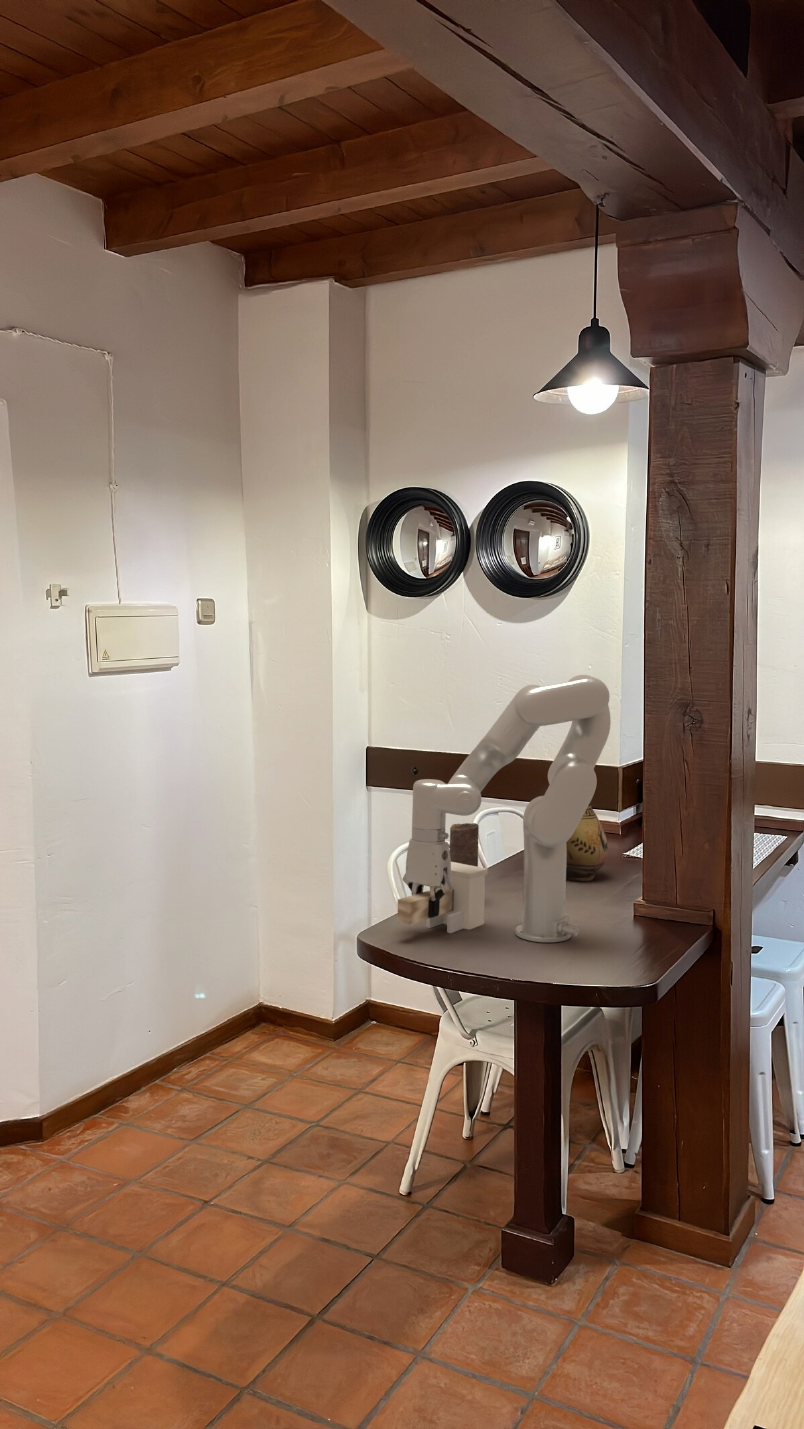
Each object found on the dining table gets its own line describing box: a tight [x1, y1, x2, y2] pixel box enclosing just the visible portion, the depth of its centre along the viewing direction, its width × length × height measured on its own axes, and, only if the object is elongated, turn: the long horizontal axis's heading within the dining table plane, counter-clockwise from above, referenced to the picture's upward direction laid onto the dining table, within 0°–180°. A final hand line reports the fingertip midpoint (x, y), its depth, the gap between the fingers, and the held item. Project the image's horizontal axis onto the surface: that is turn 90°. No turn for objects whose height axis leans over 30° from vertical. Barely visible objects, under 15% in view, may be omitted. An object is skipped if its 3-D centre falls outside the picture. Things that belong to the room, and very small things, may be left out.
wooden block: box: [396, 887, 454, 925], centre depth 243 cm, size 16×4×5 cm, turn 140°
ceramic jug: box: [566, 802, 609, 882], centre depth 297 cm, size 17×15×30 cm
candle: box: [449, 822, 480, 867], centre depth 270 cm, size 8×7×20 cm
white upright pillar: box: [426, 862, 489, 934], centre depth 250 cm, size 12×11×13 cm
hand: (426, 913), depth 243 cm, fingers closed on wooden block, 3 cm apart
